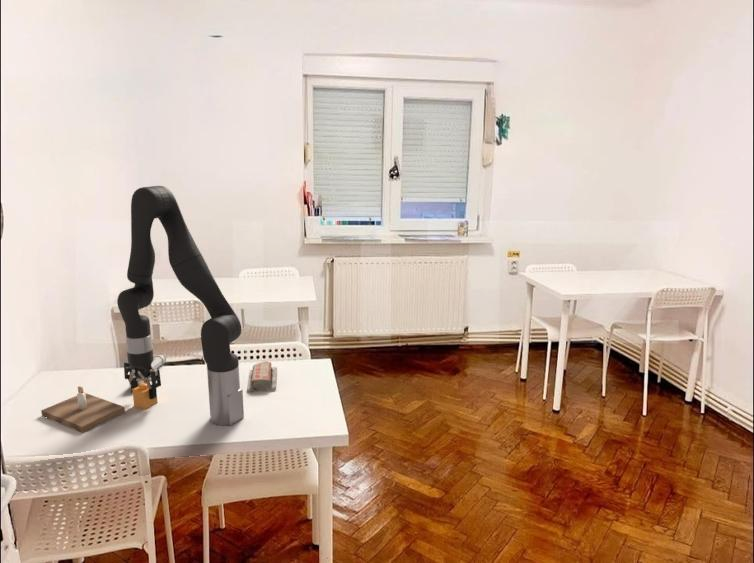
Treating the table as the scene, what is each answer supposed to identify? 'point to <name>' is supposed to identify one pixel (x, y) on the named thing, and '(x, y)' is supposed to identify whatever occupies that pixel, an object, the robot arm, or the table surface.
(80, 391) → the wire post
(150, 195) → the robot arm
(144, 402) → the orange rounded block
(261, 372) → the packaged product
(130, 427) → the table surface
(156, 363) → the gray handled tool
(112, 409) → the board
